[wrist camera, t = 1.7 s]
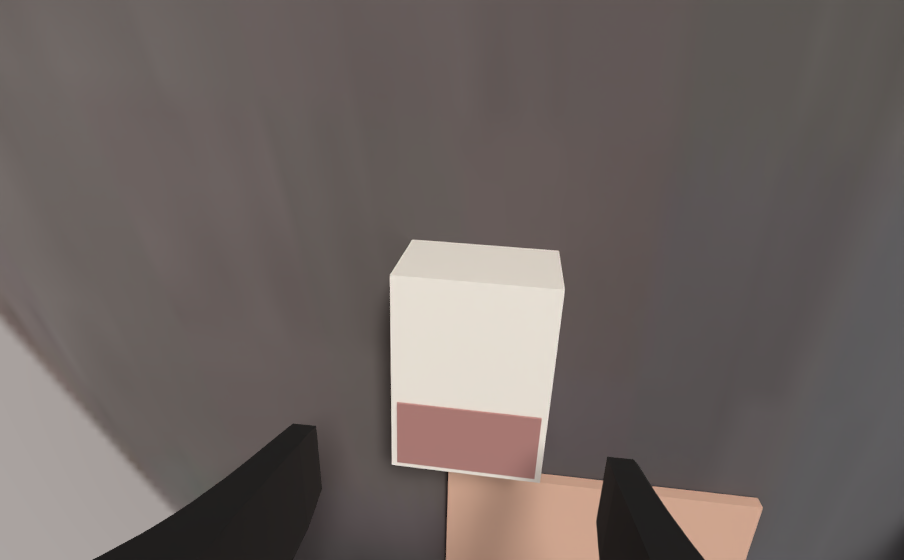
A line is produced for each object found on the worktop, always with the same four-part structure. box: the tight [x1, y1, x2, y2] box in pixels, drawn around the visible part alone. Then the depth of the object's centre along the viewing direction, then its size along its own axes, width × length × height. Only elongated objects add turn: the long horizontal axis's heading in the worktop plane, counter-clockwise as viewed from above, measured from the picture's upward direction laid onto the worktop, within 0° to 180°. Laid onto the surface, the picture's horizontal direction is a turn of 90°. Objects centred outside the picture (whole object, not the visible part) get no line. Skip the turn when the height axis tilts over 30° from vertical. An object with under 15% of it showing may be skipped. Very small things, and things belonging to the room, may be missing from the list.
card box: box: [390, 240, 565, 483], centre depth 18 cm, size 5×7×4 cm
